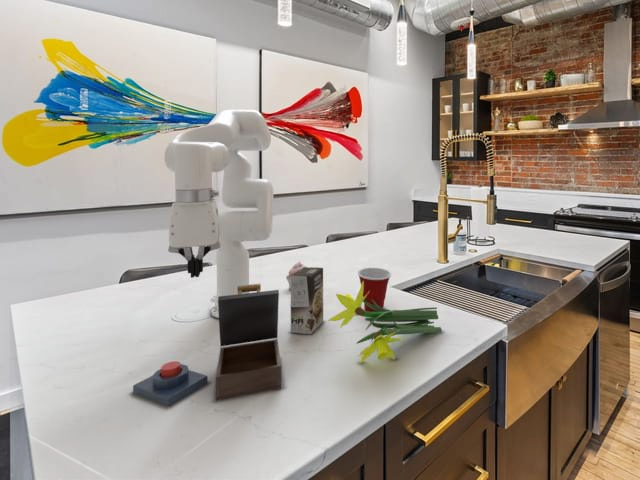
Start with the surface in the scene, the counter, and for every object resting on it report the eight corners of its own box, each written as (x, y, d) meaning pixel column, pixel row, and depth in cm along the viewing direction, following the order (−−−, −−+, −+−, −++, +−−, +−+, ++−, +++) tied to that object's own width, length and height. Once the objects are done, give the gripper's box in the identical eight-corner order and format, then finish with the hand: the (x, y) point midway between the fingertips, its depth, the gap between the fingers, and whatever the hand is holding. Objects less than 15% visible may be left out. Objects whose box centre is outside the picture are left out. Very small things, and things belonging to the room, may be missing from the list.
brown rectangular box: (281, 388, 85) (281, 365, 85) (215, 401, 81) (215, 377, 81) (277, 358, 98) (277, 338, 98) (220, 368, 94) (220, 347, 94)
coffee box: (311, 334, 111) (311, 276, 111) (289, 332, 112) (289, 274, 112) (324, 321, 120) (324, 267, 120) (304, 319, 121) (303, 266, 121)
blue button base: (132, 393, 84) (132, 376, 84) (173, 372, 92) (173, 357, 92) (168, 407, 79) (168, 389, 79) (207, 383, 87) (207, 367, 87)
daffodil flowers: (464, 344, 107) (370, 355, 82) (423, 360, 114) (324, 374, 89) (445, 282, 116) (355, 275, 91) (408, 300, 123) (314, 297, 98)
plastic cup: (378, 318, 122) (378, 278, 122) (350, 311, 128) (350, 273, 128) (398, 307, 131) (397, 270, 131) (371, 300, 137) (370, 265, 137)
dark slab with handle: (278, 293, 92) (277, 276, 96) (217, 300, 87) (219, 282, 92) (277, 338, 98) (276, 320, 102) (220, 346, 93) (221, 327, 98)
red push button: (157, 376, 85) (157, 367, 85) (173, 367, 88) (173, 359, 88) (168, 379, 83) (168, 371, 83) (184, 371, 86) (184, 363, 86)
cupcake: (308, 293, 145) (308, 265, 145) (282, 293, 145) (282, 265, 145) (314, 284, 154) (314, 258, 154) (290, 284, 155) (290, 258, 154)
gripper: (230, 193, 99) (231, 267, 100) (160, 195, 94) (162, 274, 94) (228, 197, 92) (229, 277, 92) (152, 200, 87) (154, 284, 87)
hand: (195, 275), depth 93 cm, fingers closed
